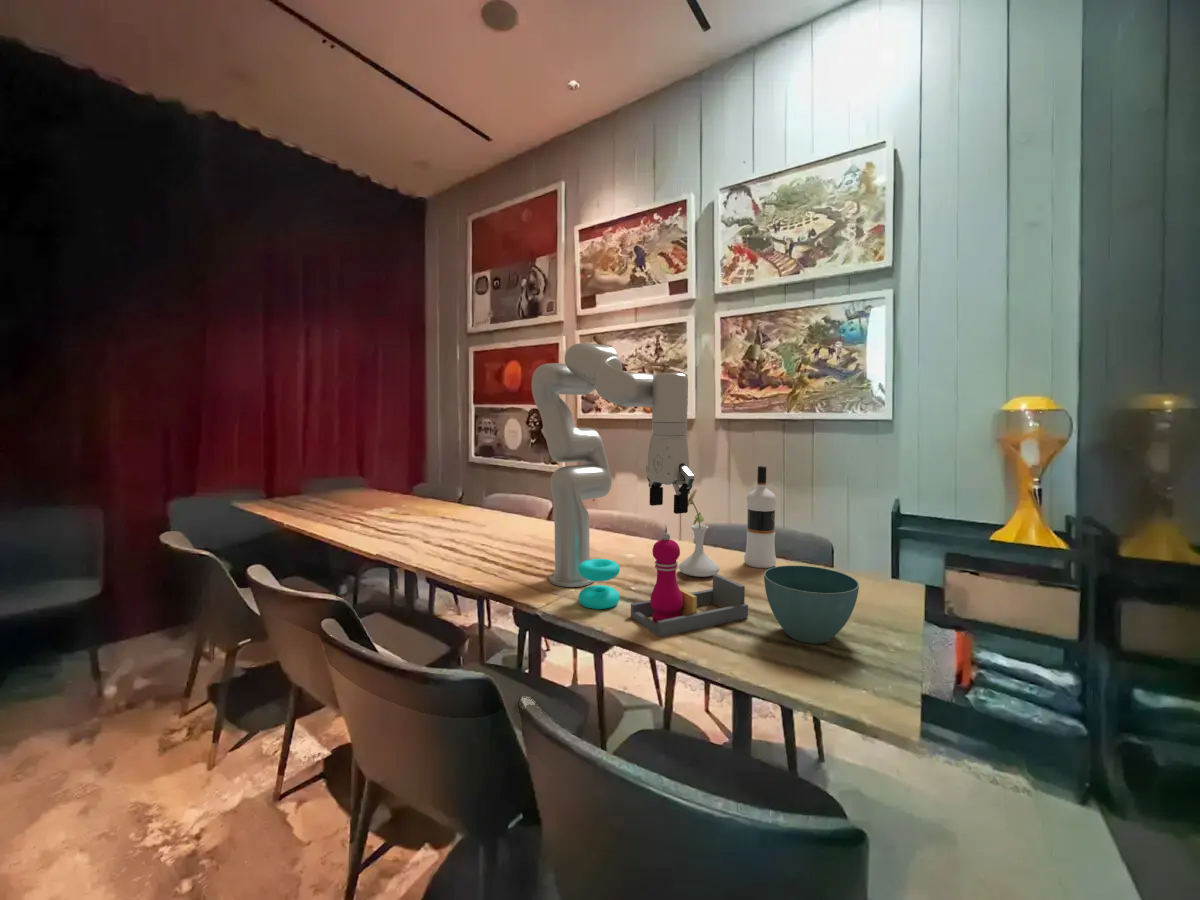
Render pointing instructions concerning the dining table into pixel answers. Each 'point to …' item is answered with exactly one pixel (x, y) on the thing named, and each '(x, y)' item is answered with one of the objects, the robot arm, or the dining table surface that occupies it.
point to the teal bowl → (810, 601)
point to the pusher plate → (688, 603)
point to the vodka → (760, 525)
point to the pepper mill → (666, 580)
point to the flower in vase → (698, 550)
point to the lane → (721, 594)
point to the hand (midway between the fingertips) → (667, 508)
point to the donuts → (598, 594)
